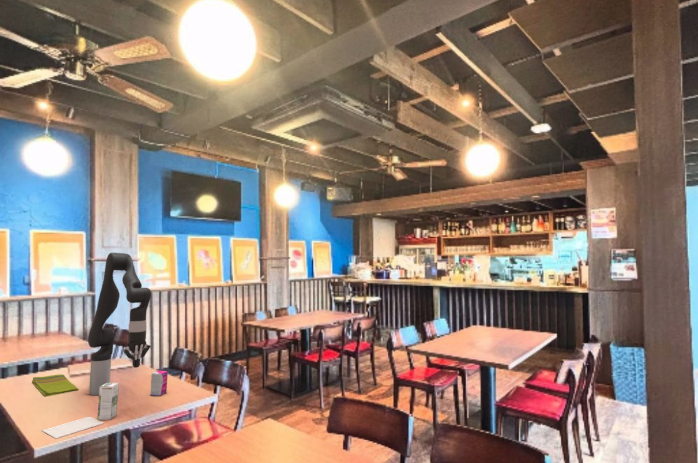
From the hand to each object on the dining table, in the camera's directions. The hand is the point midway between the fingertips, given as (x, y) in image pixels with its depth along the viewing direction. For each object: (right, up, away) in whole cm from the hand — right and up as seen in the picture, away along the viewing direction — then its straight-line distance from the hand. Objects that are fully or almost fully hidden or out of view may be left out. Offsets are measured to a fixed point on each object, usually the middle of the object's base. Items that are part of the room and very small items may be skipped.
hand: (136, 367), depth 192 cm
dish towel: (-62, -22, +33) cm, 74 cm away
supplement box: (+1, -21, +20) cm, 29 cm away
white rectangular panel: (-15, -18, -22) cm, 32 cm away
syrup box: (-7, -19, -11) cm, 23 cm away
